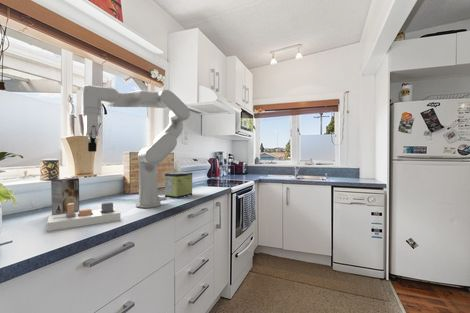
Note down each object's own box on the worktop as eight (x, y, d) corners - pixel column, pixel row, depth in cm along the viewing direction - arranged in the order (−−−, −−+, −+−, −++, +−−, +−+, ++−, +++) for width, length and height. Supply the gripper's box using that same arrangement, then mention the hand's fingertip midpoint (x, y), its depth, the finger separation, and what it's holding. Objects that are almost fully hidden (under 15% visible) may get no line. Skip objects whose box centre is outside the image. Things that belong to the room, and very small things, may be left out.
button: (112, 212, 104) (112, 201, 103) (114, 214, 100) (113, 203, 100) (100, 213, 101) (100, 203, 101) (102, 215, 97) (102, 204, 97)
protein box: (192, 195, 159) (192, 172, 158) (176, 198, 145) (176, 174, 145) (181, 193, 164) (181, 171, 164) (164, 197, 150) (164, 173, 150)
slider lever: (75, 214, 95) (75, 202, 95) (75, 216, 92) (75, 204, 92) (66, 215, 93) (65, 203, 93) (66, 217, 90) (66, 205, 90)
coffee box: (69, 210, 115) (68, 177, 115) (79, 210, 114) (79, 178, 114) (50, 214, 106) (50, 179, 106) (62, 215, 105) (62, 180, 105)
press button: (91, 219, 99) (91, 208, 99) (92, 221, 95) (92, 210, 95) (78, 220, 96) (78, 210, 96) (79, 223, 93) (79, 212, 92)
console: (114, 214, 108) (114, 207, 108) (120, 219, 98) (120, 212, 98) (48, 223, 93) (48, 215, 93) (47, 231, 84) (47, 222, 84)
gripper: (81, 113, 113) (81, 151, 113) (84, 109, 101) (84, 151, 101) (99, 115, 118) (99, 151, 118) (103, 111, 106) (103, 151, 106)
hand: (92, 151), depth 110 cm, fingers closed
